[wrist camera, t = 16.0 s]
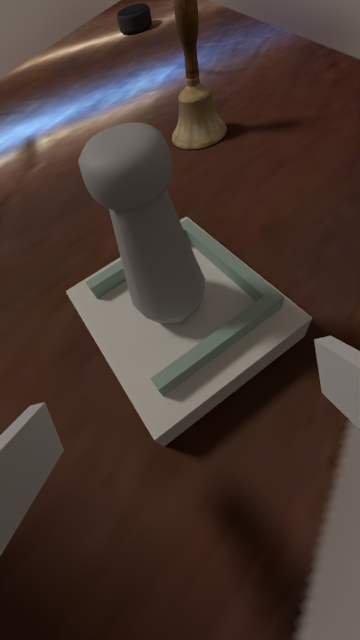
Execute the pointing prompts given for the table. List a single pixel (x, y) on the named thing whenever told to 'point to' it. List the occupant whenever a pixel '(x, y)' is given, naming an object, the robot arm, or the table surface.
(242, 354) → the dock
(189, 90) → the hand bell
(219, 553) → the table surface
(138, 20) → the smart speaker
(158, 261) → the salt shaker
